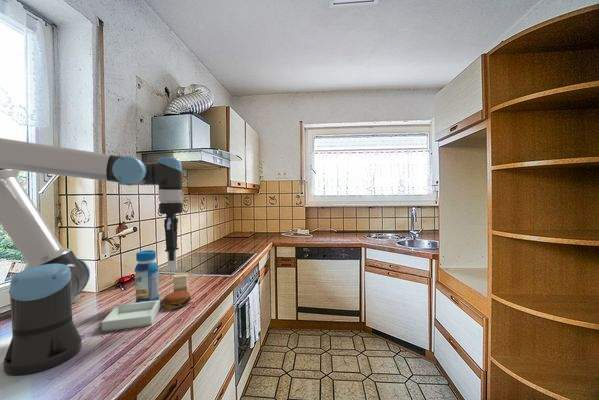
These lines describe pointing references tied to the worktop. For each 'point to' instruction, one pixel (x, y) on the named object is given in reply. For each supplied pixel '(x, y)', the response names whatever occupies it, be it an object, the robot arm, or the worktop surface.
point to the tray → (131, 315)
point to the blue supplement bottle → (146, 276)
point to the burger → (176, 299)
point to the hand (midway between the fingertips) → (172, 269)
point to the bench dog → (180, 282)
